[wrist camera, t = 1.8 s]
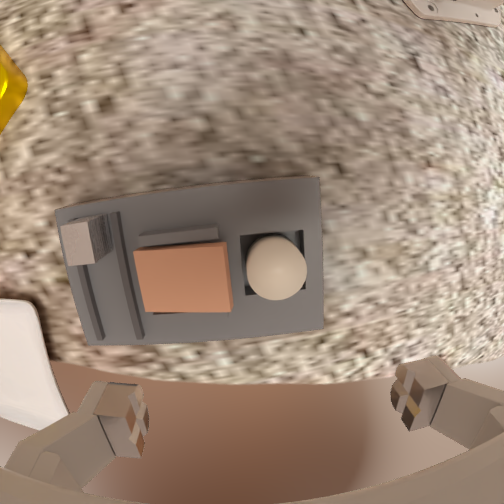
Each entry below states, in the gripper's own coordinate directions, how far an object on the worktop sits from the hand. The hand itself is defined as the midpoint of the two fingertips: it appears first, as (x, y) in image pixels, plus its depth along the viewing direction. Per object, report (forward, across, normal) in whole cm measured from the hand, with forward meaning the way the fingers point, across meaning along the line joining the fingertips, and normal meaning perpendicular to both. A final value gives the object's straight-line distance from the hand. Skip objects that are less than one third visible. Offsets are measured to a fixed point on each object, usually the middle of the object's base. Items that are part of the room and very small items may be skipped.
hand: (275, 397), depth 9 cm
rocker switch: (+15, +5, +1) cm, 16 cm away
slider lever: (+17, +12, -2) cm, 21 cm away
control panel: (+21, +5, +1) cm, 21 cm away
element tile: (+22, +32, -18) cm, 43 cm away
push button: (+17, -2, +1) cm, 18 cm away
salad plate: (+22, +33, +15) cm, 42 cm away
